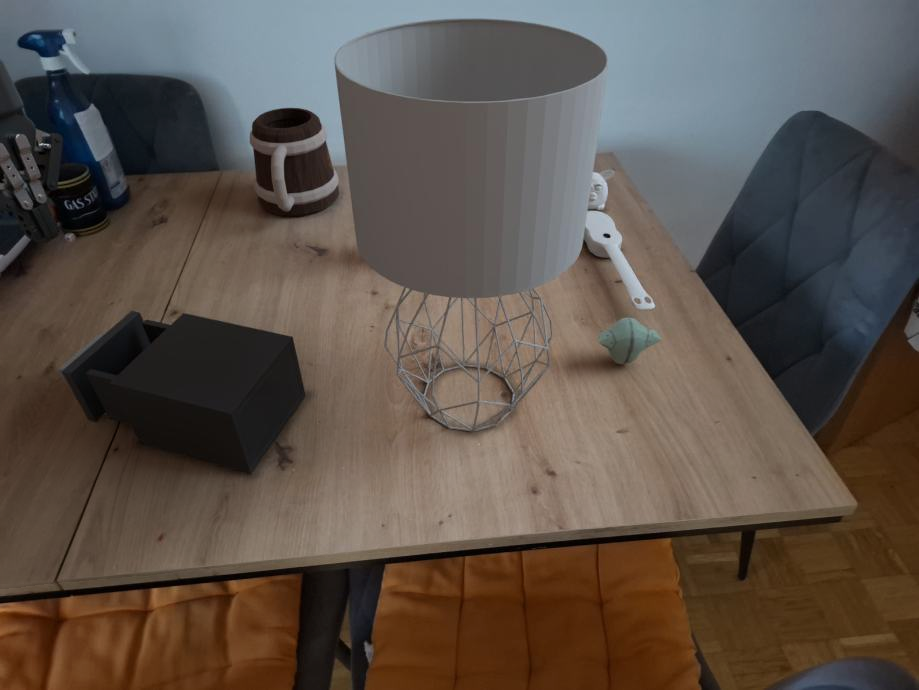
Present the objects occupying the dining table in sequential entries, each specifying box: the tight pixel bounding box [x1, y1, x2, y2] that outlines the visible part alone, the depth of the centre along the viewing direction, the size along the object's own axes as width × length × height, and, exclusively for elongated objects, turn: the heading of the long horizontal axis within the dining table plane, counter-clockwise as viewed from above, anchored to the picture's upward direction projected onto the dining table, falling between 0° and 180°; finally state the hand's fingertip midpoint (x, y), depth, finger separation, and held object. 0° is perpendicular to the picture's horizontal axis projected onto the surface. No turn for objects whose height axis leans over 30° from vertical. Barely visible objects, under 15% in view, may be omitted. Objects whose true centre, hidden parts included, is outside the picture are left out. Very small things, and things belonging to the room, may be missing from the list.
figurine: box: [587, 169, 615, 212], centre depth 114 cm, size 8×6×7 cm
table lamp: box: [333, 17, 610, 432], centre depth 65 cm, size 22×22×40 cm
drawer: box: [56, 310, 171, 425], centre depth 75 cm, size 18×11×8 cm, turn 72°
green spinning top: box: [598, 317, 663, 365], centre depth 81 cm, size 8×4×7 cm, turn 93°
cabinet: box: [110, 312, 307, 475], centre depth 72 cm, size 15×13×10 cm
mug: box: [249, 107, 340, 217], centre depth 111 cm, size 20×15×15 cm
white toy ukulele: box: [583, 210, 656, 311], centre depth 99 cm, size 28×6×3 cm, turn 7°
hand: (46, 239), depth 67 cm, fingers closed
